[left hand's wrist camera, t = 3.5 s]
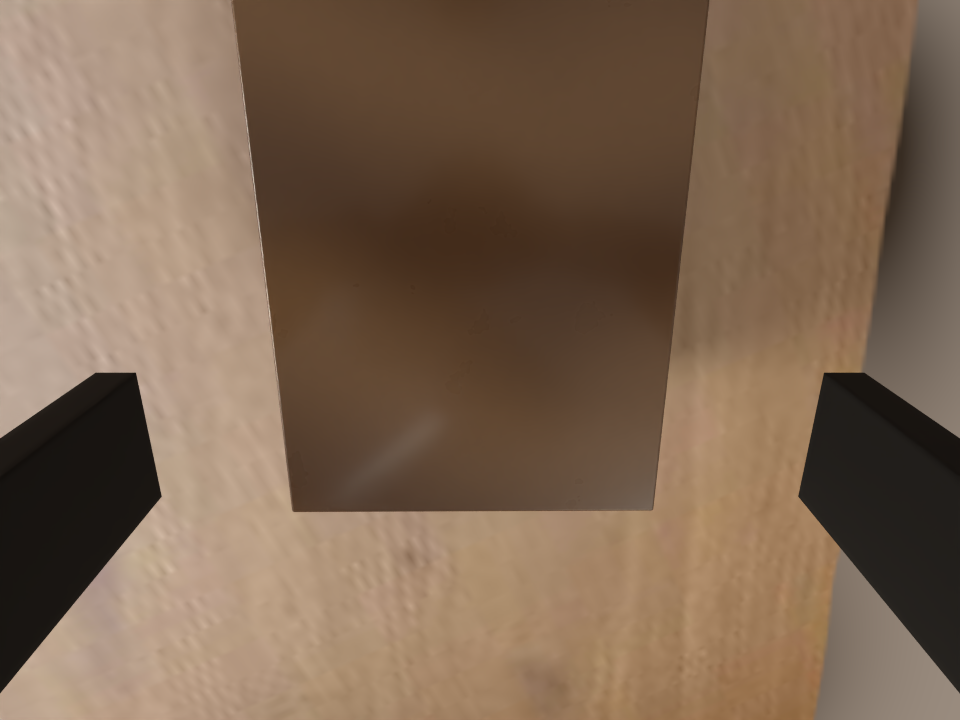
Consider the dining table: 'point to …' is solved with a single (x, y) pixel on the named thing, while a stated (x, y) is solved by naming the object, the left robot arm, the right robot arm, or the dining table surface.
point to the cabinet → (471, 243)
